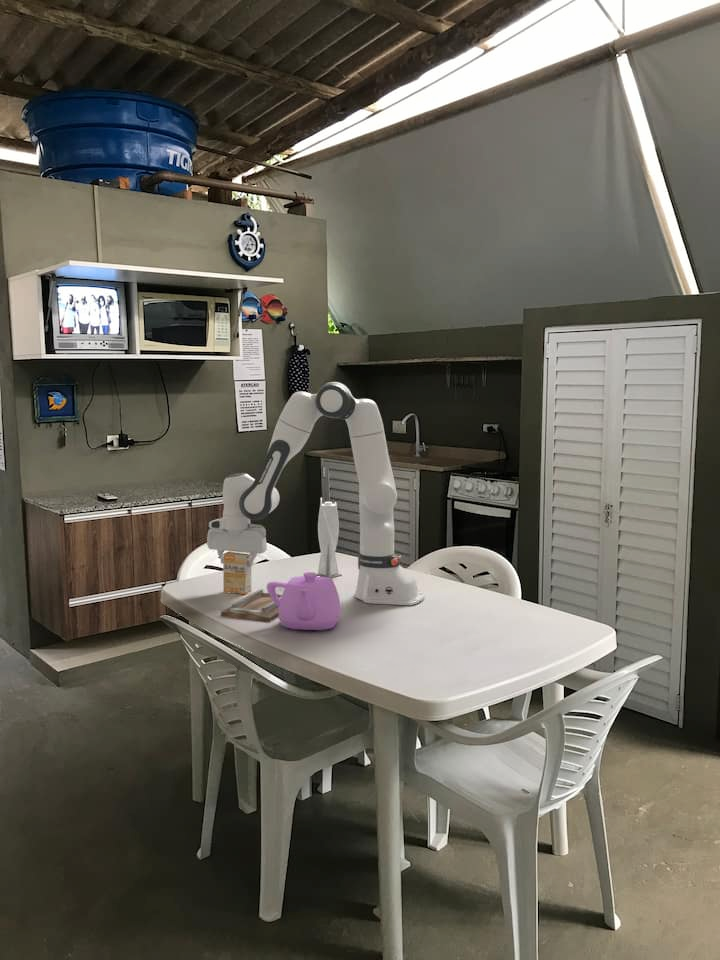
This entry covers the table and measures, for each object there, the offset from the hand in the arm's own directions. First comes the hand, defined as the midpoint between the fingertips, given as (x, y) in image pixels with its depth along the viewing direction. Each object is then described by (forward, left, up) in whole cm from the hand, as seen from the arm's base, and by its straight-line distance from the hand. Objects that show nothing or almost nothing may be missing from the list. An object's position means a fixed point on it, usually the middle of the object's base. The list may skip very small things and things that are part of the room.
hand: (236, 564), depth 252 cm
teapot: (-36, +24, -10) cm, 44 cm away
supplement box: (0, 0, -10) cm, 10 cm away
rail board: (-16, +14, -9) cm, 23 cm away
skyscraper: (-19, -32, -9) cm, 39 cm away
